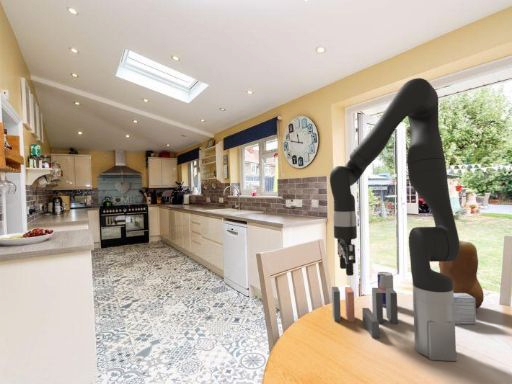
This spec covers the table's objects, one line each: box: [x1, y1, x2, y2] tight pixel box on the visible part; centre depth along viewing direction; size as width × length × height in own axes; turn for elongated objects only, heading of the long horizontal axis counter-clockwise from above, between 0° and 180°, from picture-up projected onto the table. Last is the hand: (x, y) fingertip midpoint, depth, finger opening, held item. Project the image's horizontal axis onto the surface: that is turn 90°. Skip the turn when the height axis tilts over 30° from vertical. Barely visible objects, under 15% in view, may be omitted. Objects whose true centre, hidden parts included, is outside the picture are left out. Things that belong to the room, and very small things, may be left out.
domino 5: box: [385, 288, 399, 325], centre depth 93 cm, size 5×2×10 cm, turn 172°
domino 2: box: [344, 286, 356, 323], centre depth 95 cm, size 5×2×10 cm, turn 172°
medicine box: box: [453, 293, 477, 325], centre depth 91 cm, size 8×4×9 cm, turn 84°
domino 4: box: [371, 287, 384, 324], centre depth 94 cm, size 5×2×10 cm, turn 172°
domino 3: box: [361, 307, 380, 339], centre depth 87 cm, size 5×2×10 cm
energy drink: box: [376, 271, 394, 308], centre depth 106 cm, size 5×5×12 cm
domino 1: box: [331, 286, 342, 323], centre depth 96 cm, size 5×2×10 cm, turn 172°
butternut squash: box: [438, 239, 485, 310], centre depth 101 cm, size 14×13×25 cm
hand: (346, 271), depth 95 cm, fingers open, 8 cm apart
